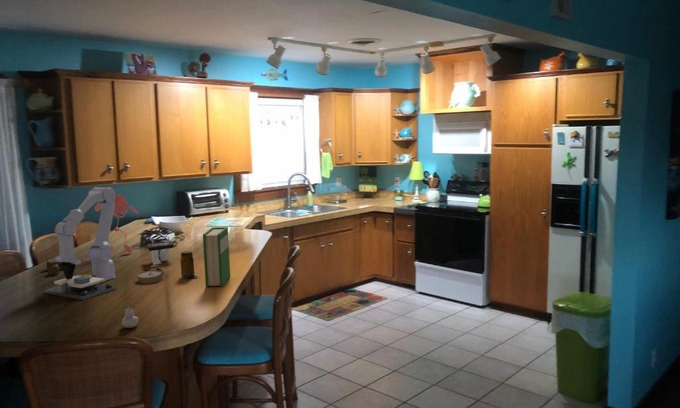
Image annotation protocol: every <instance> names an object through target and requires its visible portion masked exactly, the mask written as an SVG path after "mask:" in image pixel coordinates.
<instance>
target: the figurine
mask: <svg viewBox="0 0 680 408" xmlns="http://www.w3.org/2000/svg"><path fill="white" fill-rule="evenodd" d="M114 202H115V208H114V213H113V217H115V218H117V223H116V227H114V229H113V230H112V231H110V233H109V235H110V234H111V233H113V232H119V231H120V232H121V233H123V234H124V235H125V237H124V239H125V240H124V241H125V244H123V246H122V247H123V250H124V251H123V256H125V255H126V251H127V252H128V253H132V252H133V251H132V250H133V249H132V248H131V247H130V245H128V244H127V233H126V232H124V231H123V230H121V229H120V228H119V227H118V226H119V221H120V218H124V217H125V215H126V213H127V212H128V211H129V209H130V210H131V211H133V213H135V214H137V215H140V213H139V211H138V210H137V209H136V208H135V207H133V206H132V205H129V201H127V200H126V196H124V195H121V193H118V194H116V195H115V200H114ZM128 205H129V206H128ZM94 210H95V213H96V212H99V211H101V210H102V207H101V206H100V205H99V204H98V203H97V204H95V206H94ZM118 214H120V215H118ZM121 215H122V216H121ZM108 243H110V240H109V239H108ZM110 245H111V253H112V251H113V252H114V247H113V245H112V244H110ZM125 250H126V251H125ZM135 255H136V254H134V256H135Z"/></svg>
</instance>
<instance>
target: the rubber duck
mask: <svg viewBox="0 0 680 408" xmlns="http://www.w3.org/2000/svg"><path fill="white" fill-rule="evenodd" d="M138 323H139V317H138V316H136V315H135V311H134V309H133V308H132V307H130V306H129V305H128V306H127V307H126V308H125V310H124V317H123V318H122V320H121V324H122V326H123V327H124V328H126V329H131V328H134V327H136V326H137V325H138Z"/></svg>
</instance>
